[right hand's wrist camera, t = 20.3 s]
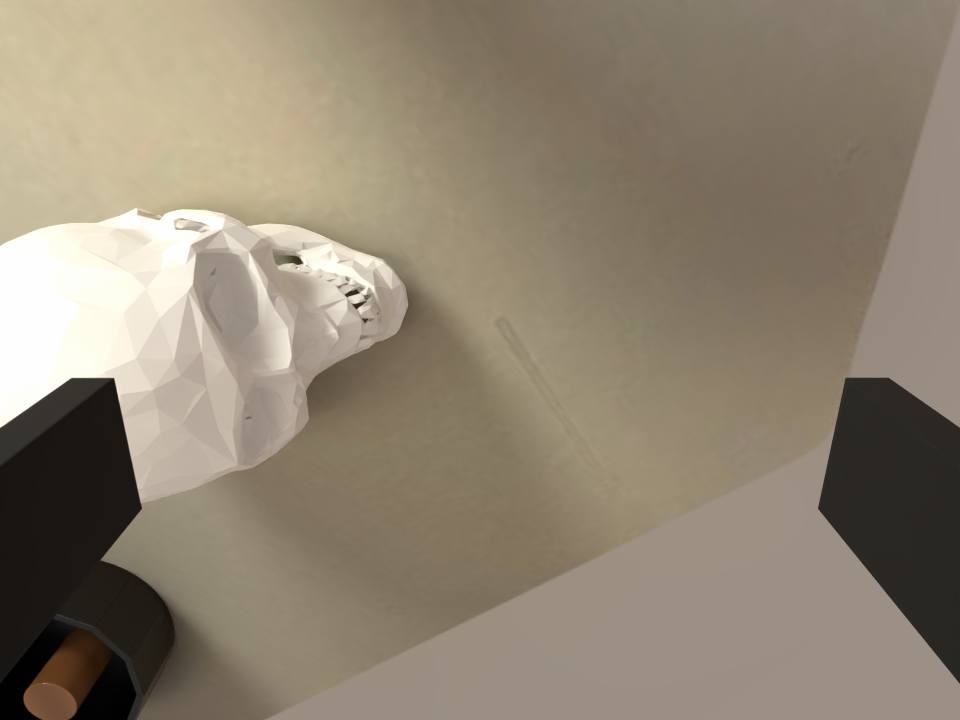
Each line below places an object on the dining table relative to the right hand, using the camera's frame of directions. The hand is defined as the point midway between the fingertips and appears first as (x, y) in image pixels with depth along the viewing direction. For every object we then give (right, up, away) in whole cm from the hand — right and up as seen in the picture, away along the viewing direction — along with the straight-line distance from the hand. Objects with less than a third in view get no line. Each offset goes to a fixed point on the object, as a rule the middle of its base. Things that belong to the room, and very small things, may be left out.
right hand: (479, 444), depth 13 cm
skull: (-15, +5, +29) cm, 33 cm away
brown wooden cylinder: (-28, -19, +37) cm, 50 cm away
